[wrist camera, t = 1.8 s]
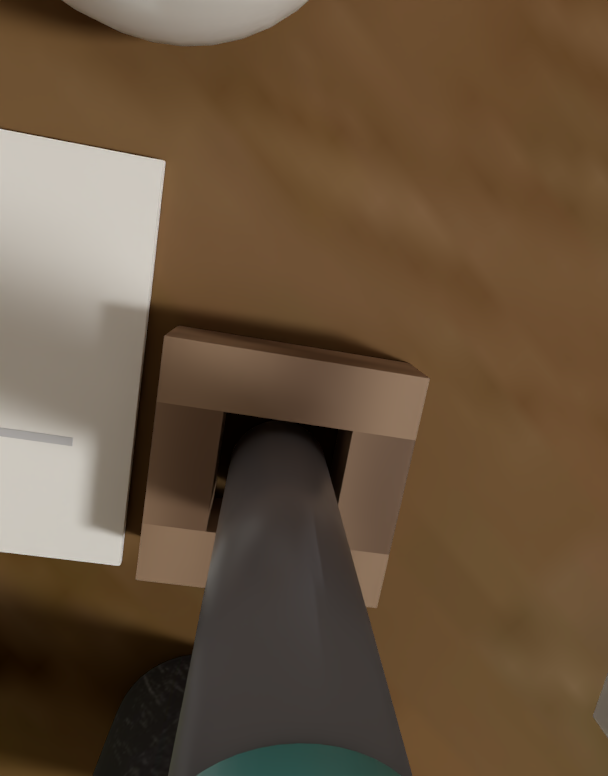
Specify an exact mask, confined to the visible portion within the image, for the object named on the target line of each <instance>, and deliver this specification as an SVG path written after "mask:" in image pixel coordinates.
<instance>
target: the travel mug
mask: <svg viewBox="0 0 608 776" xmlns="http://www.w3.org/2000/svg"><path fill="white" fill-rule="evenodd" d="M191 657H192V655H187V656H182V657H178V658H175V659H172V660H169V661H166V662H164V663H162V664H160V665H158V666H156V667H154V668H153V669H151V670H149V671H148V672H147V673H146V674H144V675H143V676H142V677H141V678H140V679H139V680H138V681H137V682H136V683H135V684H134V685H133V686H132V687H131V689H130V690H129V691H128V693H127V694H126V695H125V697H124V699H123V701H122V703H121V705H120V707H119V709H118V711H117V713H116V716H115V719H114V721H113V724H112V726H111V729H110V731H109V734H108V736H107V739H106V741H105V744H104V747H103V749H102V752H101V755H100V757H99V760H98V762H97V765H96V768H95V770H94V773H93V776H168V773H169V768H170V763H171V758H172V753H173V748H174V743H175V738H176V733H177V728H178V723H179V718H180V713H181V707H182V702H183V697H184V692H185V687H186V682H187V677H188V672H189V667H190V662H191Z"/></svg>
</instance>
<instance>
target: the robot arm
mask: <svg viewBox="0 0 608 776" xmlns="http://www.w3.org/2000/svg"><path fill="white" fill-rule="evenodd" d="M593 717H594V719H595V720H596V722H597V723H598V725H599V726H600V728H601V729H602V730H603V732H604V733H605V735H606V736H607V738H608V674H607V677H606V680H605V683H604V686H603V688H602V691H601V694H600V697H599V700H598V703H597V706H596V708H595V711H594V714H593Z"/></svg>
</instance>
